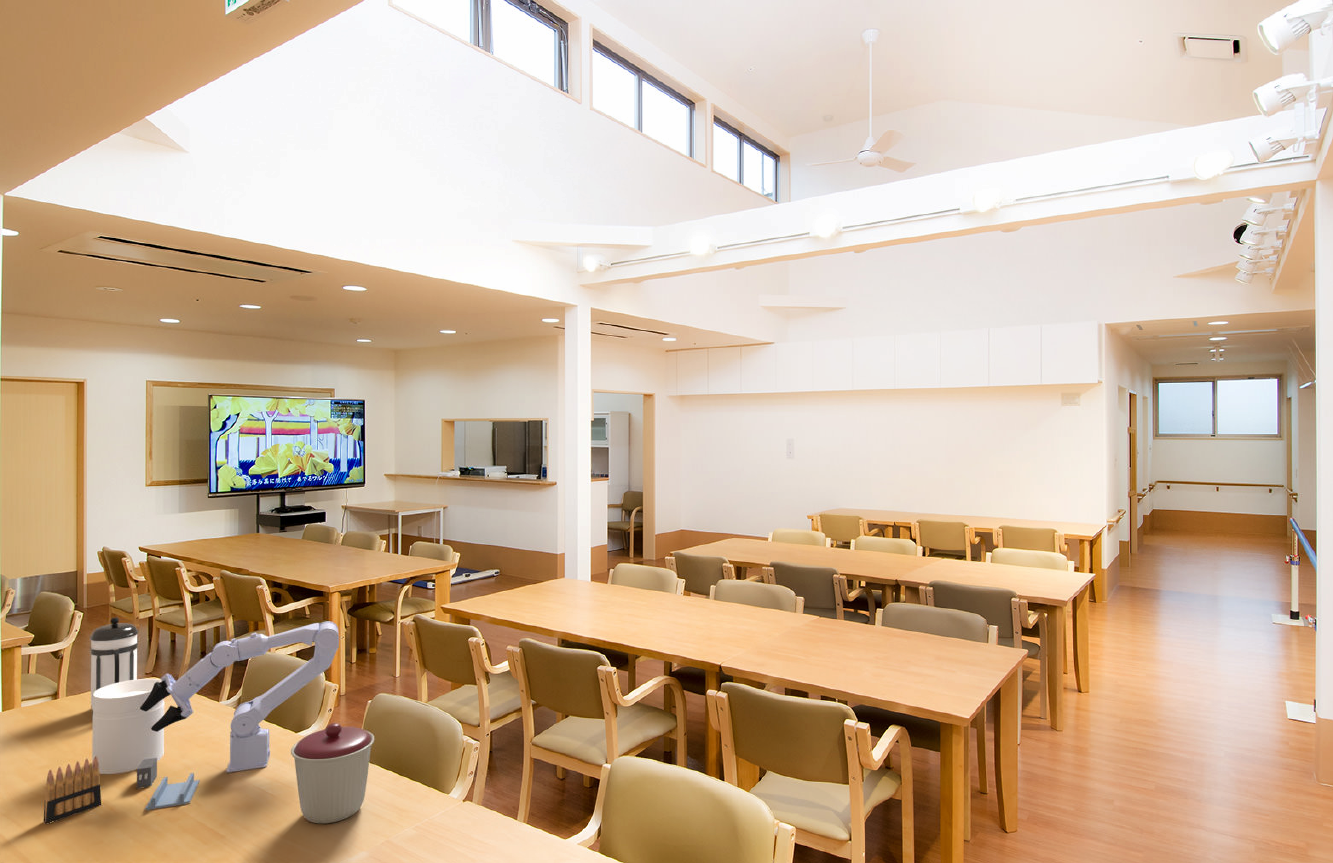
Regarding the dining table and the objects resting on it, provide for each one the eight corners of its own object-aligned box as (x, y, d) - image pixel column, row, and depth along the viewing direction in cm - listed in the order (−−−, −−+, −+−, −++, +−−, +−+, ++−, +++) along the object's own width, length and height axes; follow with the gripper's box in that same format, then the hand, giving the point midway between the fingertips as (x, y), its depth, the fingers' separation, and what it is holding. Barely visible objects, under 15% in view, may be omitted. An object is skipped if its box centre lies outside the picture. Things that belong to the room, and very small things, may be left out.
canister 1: (94, 780, 192) (95, 703, 192) (90, 759, 204) (90, 687, 204) (168, 762, 202) (168, 689, 202) (159, 743, 214) (160, 675, 214)
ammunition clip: (46, 824, 170) (46, 772, 170) (43, 822, 171) (43, 770, 171) (101, 805, 179) (101, 755, 179) (98, 803, 180) (98, 753, 180)
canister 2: (323, 841, 163) (324, 745, 163) (273, 820, 172) (274, 729, 172) (390, 805, 179) (390, 718, 179) (341, 788, 187) (341, 705, 188)
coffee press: (69, 717, 234) (70, 622, 234) (114, 699, 250) (115, 611, 250) (116, 721, 231) (117, 625, 231) (159, 703, 247) (160, 613, 247)
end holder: (199, 782, 190) (199, 772, 190) (189, 803, 179) (189, 792, 179) (158, 788, 187) (158, 778, 187) (145, 810, 176) (145, 799, 176)
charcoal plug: (156, 776, 194) (156, 757, 194) (150, 788, 187) (150, 768, 187) (143, 778, 192) (143, 759, 192) (135, 790, 186) (135, 770, 186)
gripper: (173, 657, 196) (126, 697, 192) (195, 694, 189) (147, 736, 185) (191, 665, 202) (146, 704, 197) (213, 701, 195) (167, 742, 190)
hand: (148, 720), depth 191 cm, fingers open, 7 cm apart
